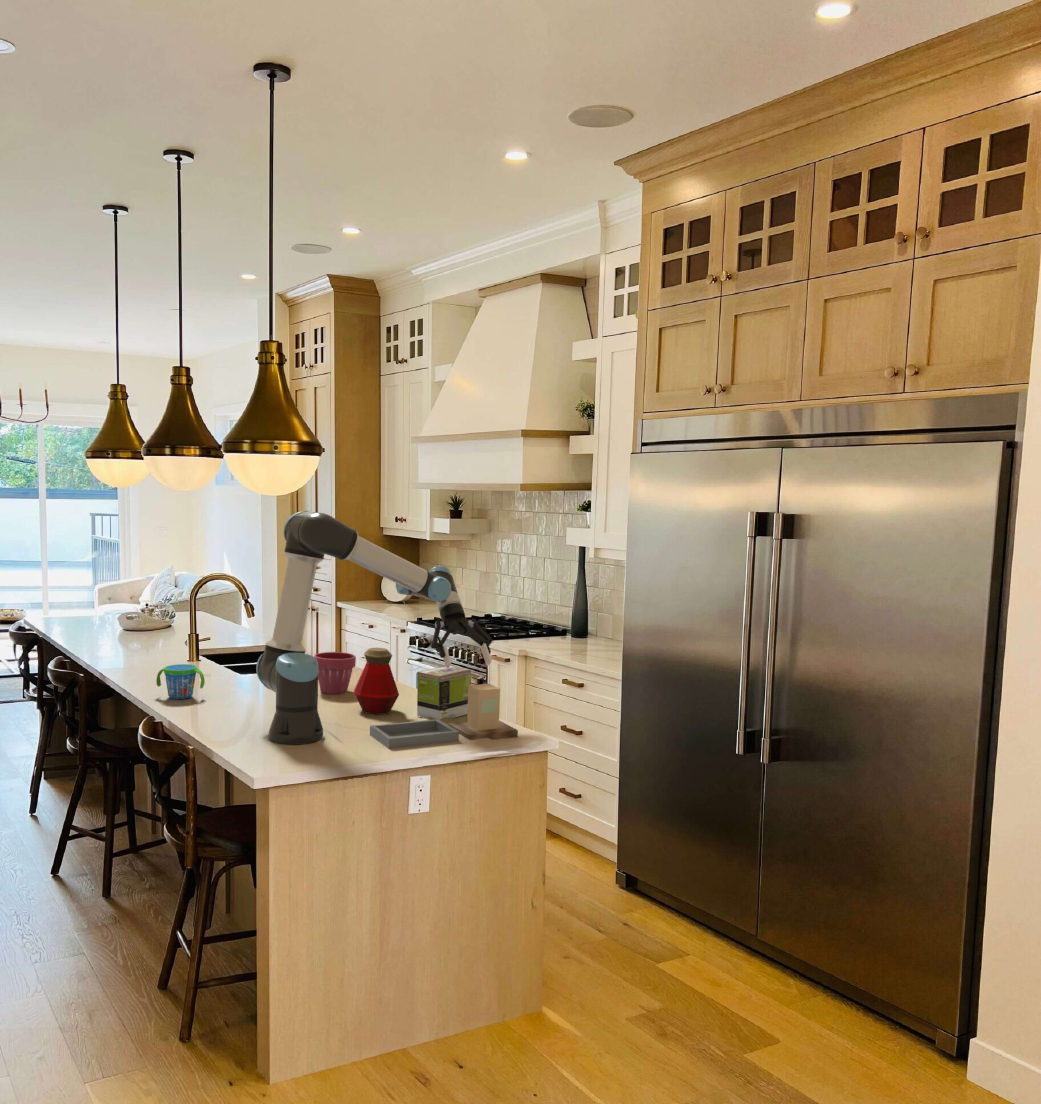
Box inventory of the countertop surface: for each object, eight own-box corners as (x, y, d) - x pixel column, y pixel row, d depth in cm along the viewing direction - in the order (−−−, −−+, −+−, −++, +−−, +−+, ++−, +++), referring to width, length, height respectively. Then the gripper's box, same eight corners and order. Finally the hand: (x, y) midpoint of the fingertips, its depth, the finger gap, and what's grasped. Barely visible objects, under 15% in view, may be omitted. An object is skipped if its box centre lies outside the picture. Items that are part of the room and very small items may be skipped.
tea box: (448, 709, 316) (450, 664, 315) (471, 714, 310) (472, 669, 309) (415, 716, 305) (417, 670, 303) (438, 722, 298) (440, 675, 297)
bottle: (343, 709, 310) (345, 647, 309) (377, 703, 320) (378, 643, 319) (374, 718, 300) (376, 655, 298) (408, 712, 310) (409, 650, 308)
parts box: (477, 730, 282) (479, 690, 281) (467, 724, 288) (468, 685, 288) (498, 728, 285) (500, 688, 285) (488, 722, 292) (489, 683, 291)
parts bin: (388, 751, 265) (388, 738, 265) (369, 737, 278) (370, 725, 278) (458, 743, 275) (459, 731, 275) (437, 730, 288) (437, 719, 288)
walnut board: (468, 741, 277) (468, 735, 277) (448, 730, 289) (448, 723, 289) (517, 736, 285) (517, 729, 285) (496, 725, 297) (496, 718, 297)
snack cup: (149, 699, 315) (150, 668, 314) (167, 692, 325) (167, 662, 325) (193, 702, 312) (194, 671, 311) (210, 695, 322) (210, 665, 322)
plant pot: (360, 688, 341) (361, 653, 340) (346, 697, 327) (347, 660, 326) (322, 685, 343) (322, 650, 342) (306, 694, 329) (307, 657, 329)
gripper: (481, 614, 316) (501, 668, 303) (410, 617, 304) (427, 673, 292) (489, 600, 310) (509, 655, 298) (417, 602, 299) (435, 659, 287)
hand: (469, 664), depth 295 cm, fingers open, 13 cm apart
